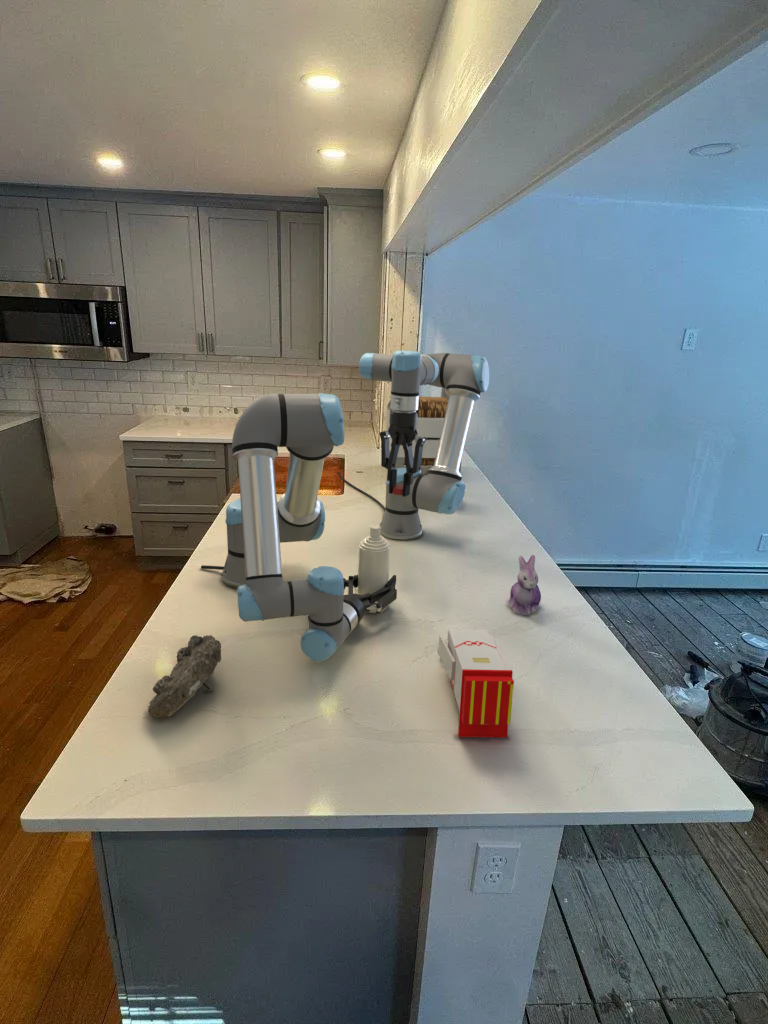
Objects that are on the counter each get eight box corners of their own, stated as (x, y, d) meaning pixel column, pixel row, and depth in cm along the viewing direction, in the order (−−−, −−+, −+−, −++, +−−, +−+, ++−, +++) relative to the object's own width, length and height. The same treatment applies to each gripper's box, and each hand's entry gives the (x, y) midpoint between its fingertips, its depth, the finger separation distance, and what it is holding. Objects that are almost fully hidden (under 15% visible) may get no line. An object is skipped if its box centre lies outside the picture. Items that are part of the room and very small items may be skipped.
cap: (402, 496, 157) (403, 489, 157) (390, 493, 159) (390, 487, 158) (407, 492, 161) (408, 486, 160) (395, 490, 162) (396, 484, 162)
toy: (488, 613, 130) (523, 677, 101) (484, 667, 133) (517, 744, 104) (435, 612, 130) (455, 676, 101) (432, 666, 133) (451, 743, 103)
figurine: (523, 619, 147) (531, 567, 142) (498, 602, 156) (505, 552, 150) (551, 612, 151) (559, 561, 146) (525, 595, 160) (532, 546, 155)
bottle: (352, 609, 149) (355, 529, 141) (362, 595, 156) (365, 519, 148) (382, 615, 147) (386, 534, 139) (390, 600, 154) (394, 523, 146)
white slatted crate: (382, 463, 289) (386, 382, 275) (445, 464, 293) (451, 384, 279) (390, 482, 257) (394, 392, 243) (460, 483, 261) (468, 394, 247)
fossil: (175, 637, 125) (222, 606, 120) (205, 666, 128) (253, 637, 123) (125, 712, 105) (179, 678, 100) (162, 744, 108) (217, 713, 103)
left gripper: (304, 619, 138) (344, 581, 158) (385, 639, 131) (415, 596, 151) (304, 592, 135) (344, 556, 155) (386, 610, 129) (417, 571, 149)
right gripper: (370, 408, 153) (366, 491, 161) (425, 416, 145) (419, 503, 153) (384, 405, 159) (380, 485, 167) (438, 413, 151) (431, 496, 159)
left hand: (379, 576), depth 153 cm, fingers closed on bottle, 8 cm apart
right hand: (399, 493), depth 160 cm, fingers closed on cap, 4 cm apart
